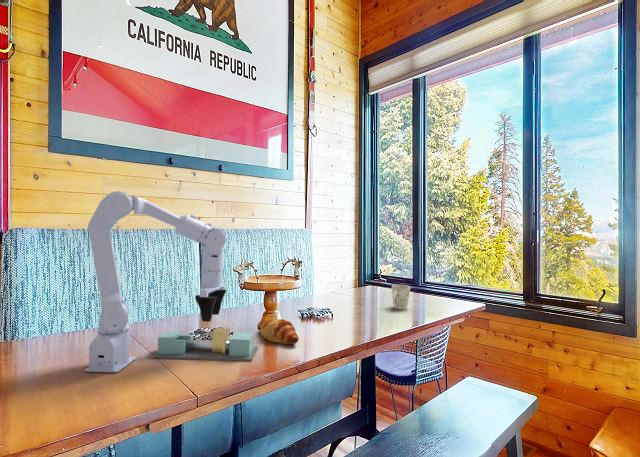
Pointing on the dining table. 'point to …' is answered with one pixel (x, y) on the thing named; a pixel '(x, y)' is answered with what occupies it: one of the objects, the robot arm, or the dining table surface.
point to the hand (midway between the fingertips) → (210, 317)
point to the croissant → (279, 331)
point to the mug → (400, 296)
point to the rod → (212, 342)
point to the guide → (175, 348)
